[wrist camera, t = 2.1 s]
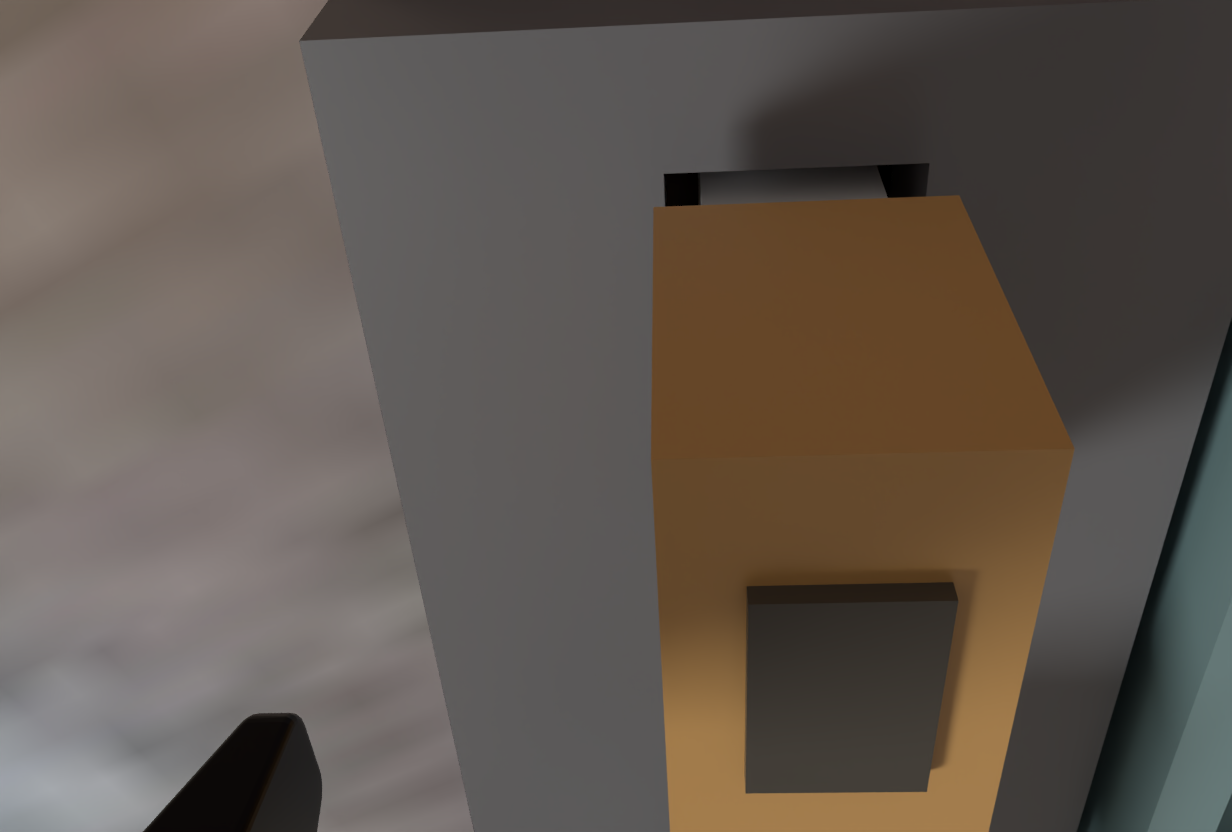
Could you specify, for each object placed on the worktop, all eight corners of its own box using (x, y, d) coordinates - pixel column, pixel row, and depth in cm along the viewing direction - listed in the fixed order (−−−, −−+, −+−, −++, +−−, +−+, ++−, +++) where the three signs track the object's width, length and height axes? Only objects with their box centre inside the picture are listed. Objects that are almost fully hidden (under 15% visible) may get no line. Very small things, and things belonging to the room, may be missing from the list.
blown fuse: (876, 418, 17) (988, 874, 11) (667, 424, 17) (672, 876, 11) (907, 81, 14) (1083, 466, 8) (655, 93, 14) (651, 476, 8)
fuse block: (1009, 872, 24) (1035, 969, 22) (514, 874, 24) (504, 969, 22) (1245, -65, 13) (1330, -9, 11) (343, -20, 13) (299, 41, 12)
